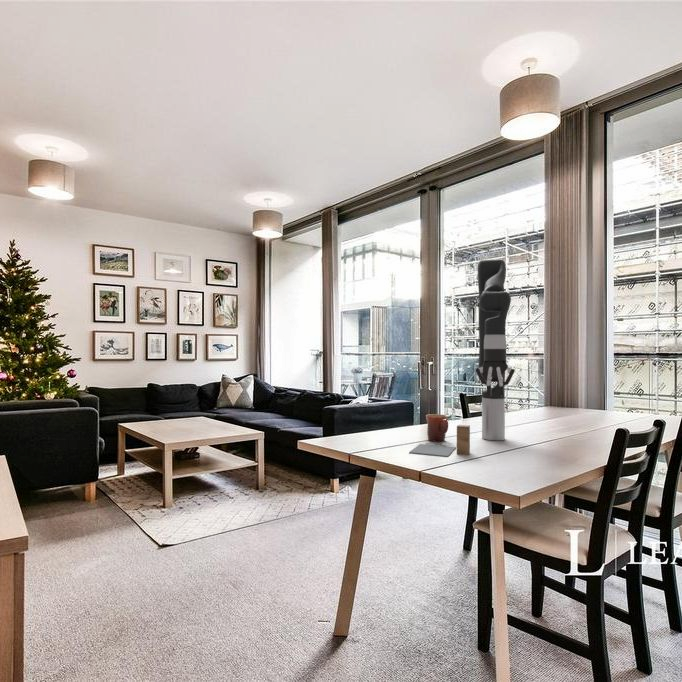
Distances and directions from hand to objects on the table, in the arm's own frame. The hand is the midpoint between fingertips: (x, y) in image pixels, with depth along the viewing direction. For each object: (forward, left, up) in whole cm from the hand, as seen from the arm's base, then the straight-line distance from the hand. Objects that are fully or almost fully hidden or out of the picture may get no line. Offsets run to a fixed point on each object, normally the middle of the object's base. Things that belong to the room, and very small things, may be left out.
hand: (495, 396), depth 165 cm
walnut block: (0, -11, -21) cm, 24 cm away
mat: (0, -22, -21) cm, 30 cm away
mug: (-19, -24, -21) cm, 37 cm away
